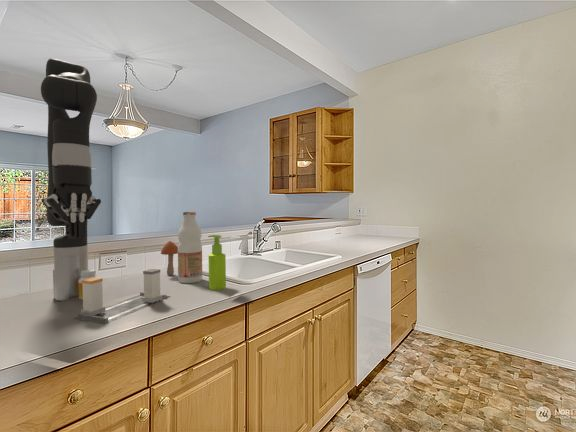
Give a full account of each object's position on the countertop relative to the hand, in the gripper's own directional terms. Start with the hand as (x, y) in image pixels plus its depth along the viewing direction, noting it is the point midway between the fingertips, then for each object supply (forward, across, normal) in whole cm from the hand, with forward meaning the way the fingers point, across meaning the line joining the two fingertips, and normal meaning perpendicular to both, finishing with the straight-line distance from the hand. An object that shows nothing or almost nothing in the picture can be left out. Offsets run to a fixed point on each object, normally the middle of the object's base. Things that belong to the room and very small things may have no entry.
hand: (74, 238), depth 73 cm
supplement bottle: (+23, -19, -21) cm, 37 cm away
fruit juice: (+23, -51, -6) cm, 56 cm away
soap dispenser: (+23, -42, +12) cm, 49 cm away
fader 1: (+22, -8, -5) cm, 24 cm away
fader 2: (+22, -22, +2) cm, 31 cm away
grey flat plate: (+23, -16, -2) cm, 28 cm away
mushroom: (+23, -57, -21) cm, 65 cm away
